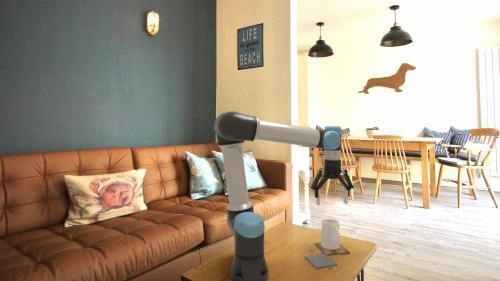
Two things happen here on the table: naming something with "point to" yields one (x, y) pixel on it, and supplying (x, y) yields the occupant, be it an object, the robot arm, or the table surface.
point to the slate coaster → (321, 261)
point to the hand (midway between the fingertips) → (331, 204)
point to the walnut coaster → (333, 252)
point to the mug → (330, 234)
